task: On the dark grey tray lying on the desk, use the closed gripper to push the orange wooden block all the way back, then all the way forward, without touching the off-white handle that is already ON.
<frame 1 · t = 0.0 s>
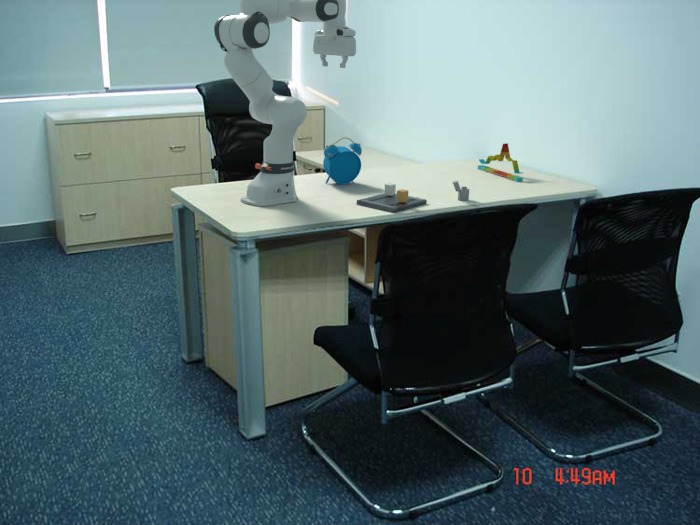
hand: (333, 67, 300), 48 cm above the table, fingers open, 8 cm apart
breaker main: (390, 189, 293), point 4 cm above the table, slide at 10.0 cm
dark grey tray: (391, 203, 287), on the table
chart: (498, 176, 343), on the table
lighter: (460, 200, 295), on the table
alarm clock: (340, 184, 319), on the table
orange wooden block: (402, 195, 283), point 4 cm above the table, slide at 5.0 cm
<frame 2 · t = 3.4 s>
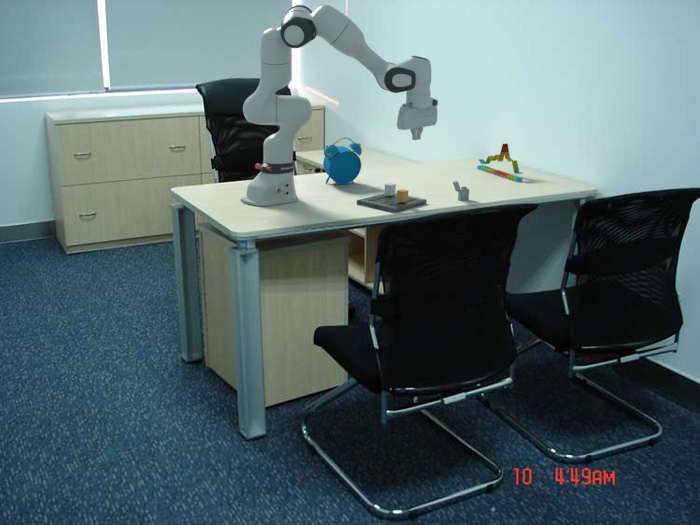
hand: (416, 139, 281), 24 cm above the table, fingers closed
nothing on the table moved.
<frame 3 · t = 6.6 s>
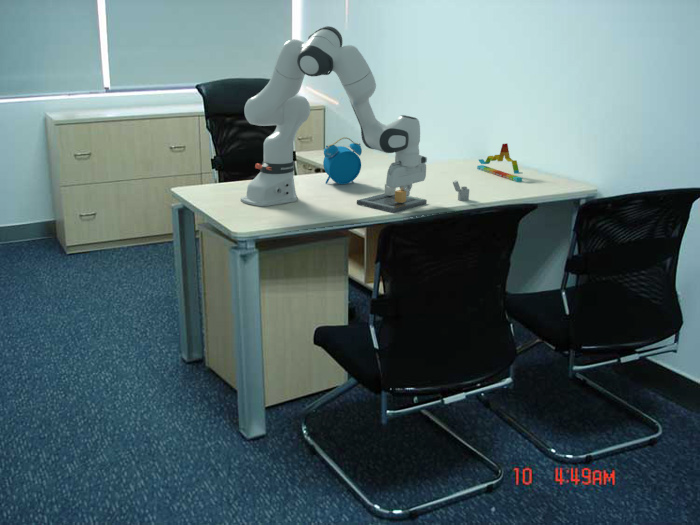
hand: (405, 196, 285), 4 cm above the table, fingers closed
orange wooden block: (400, 196, 282), point 4 cm above the table, slide at 3.7 cm, touching gripper
everything else where it was.
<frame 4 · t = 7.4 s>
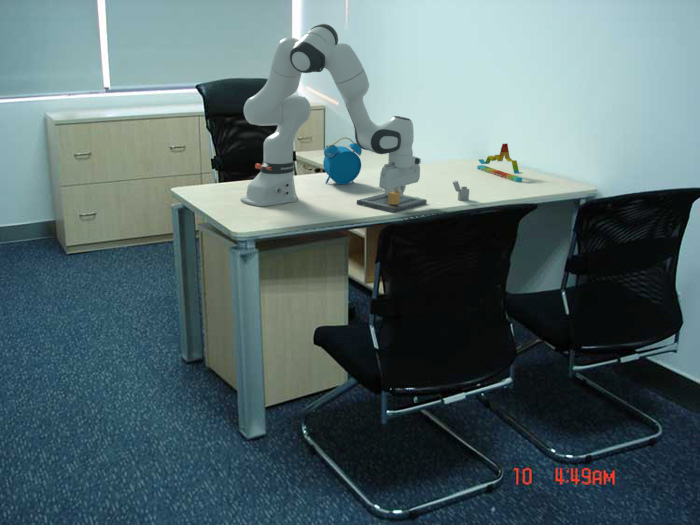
hand: (399, 197, 282), 4 cm above the table, fingers closed
orange wooden block: (394, 198, 279), point 4 cm above the table, slide at -0.1 cm, touching gripper
everything else where it was.
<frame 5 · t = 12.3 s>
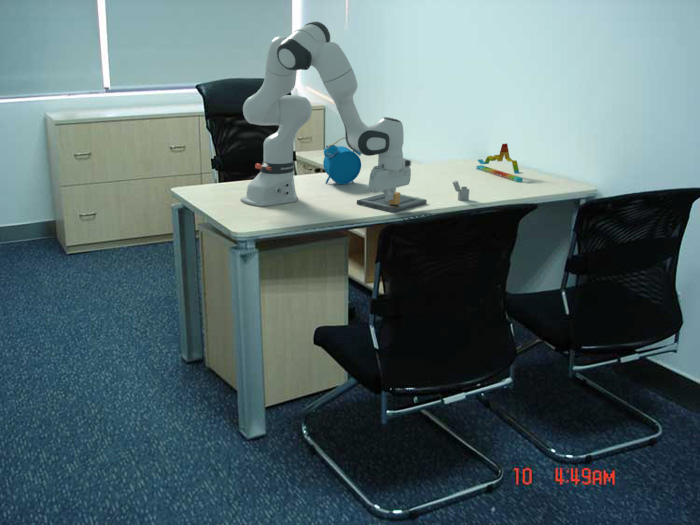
hand: (389, 200, 277), 4 cm above the table, fingers closed
nothing on the table moved.
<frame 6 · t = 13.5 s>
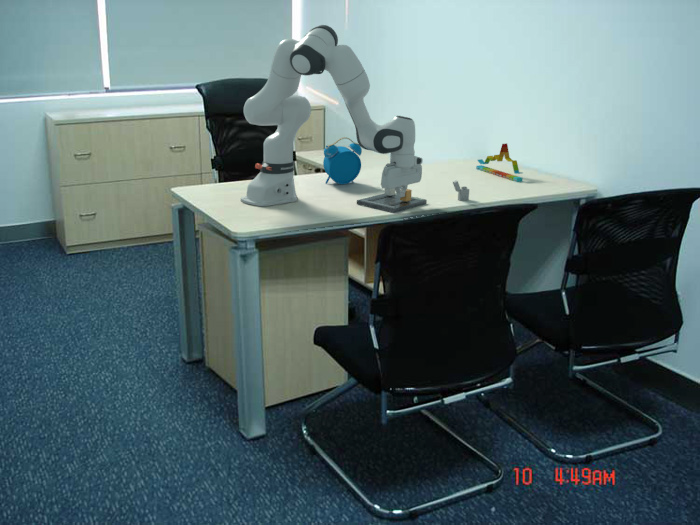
hand: (400, 197, 282), 4 cm above the table, fingers closed
orange wooden block: (405, 194, 284), point 4 cm above the table, slide at 7.0 cm, touching gripper
everything else where it was.
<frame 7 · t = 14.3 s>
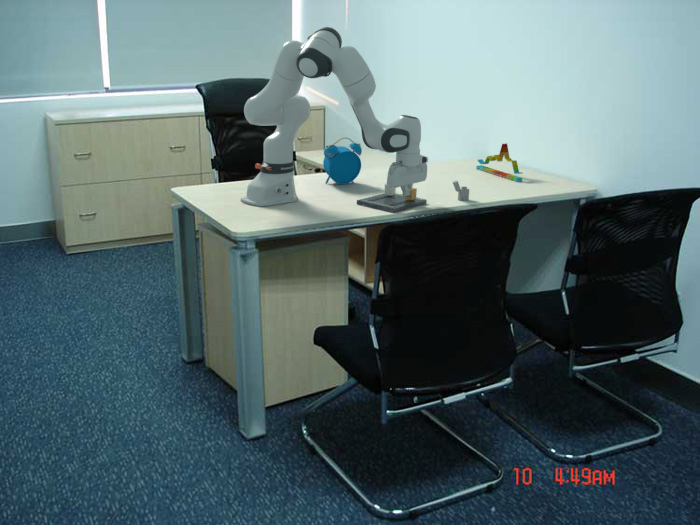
hand: (406, 195, 284), 4 cm above the table, fingers closed
orange wooden block: (410, 193, 286), point 4 cm above the table, slide at 10.1 cm, touching gripper
everything else where it was.
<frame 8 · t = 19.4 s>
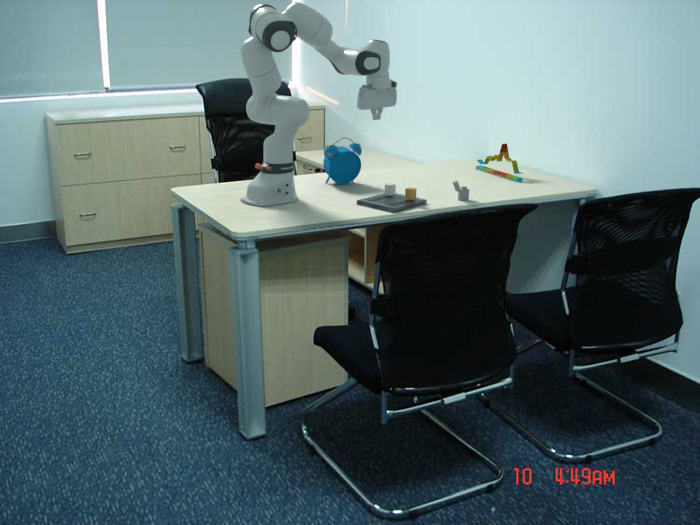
hand: (376, 119, 296), 29 cm above the table, fingers closed
orange wooden block: (410, 193, 286), point 4 cm above the table, slide at 10.1 cm
everything else where it was.
at the end: orange wooden block slide at 10.1 cm; breaker main slide at 10.0 cm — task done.
